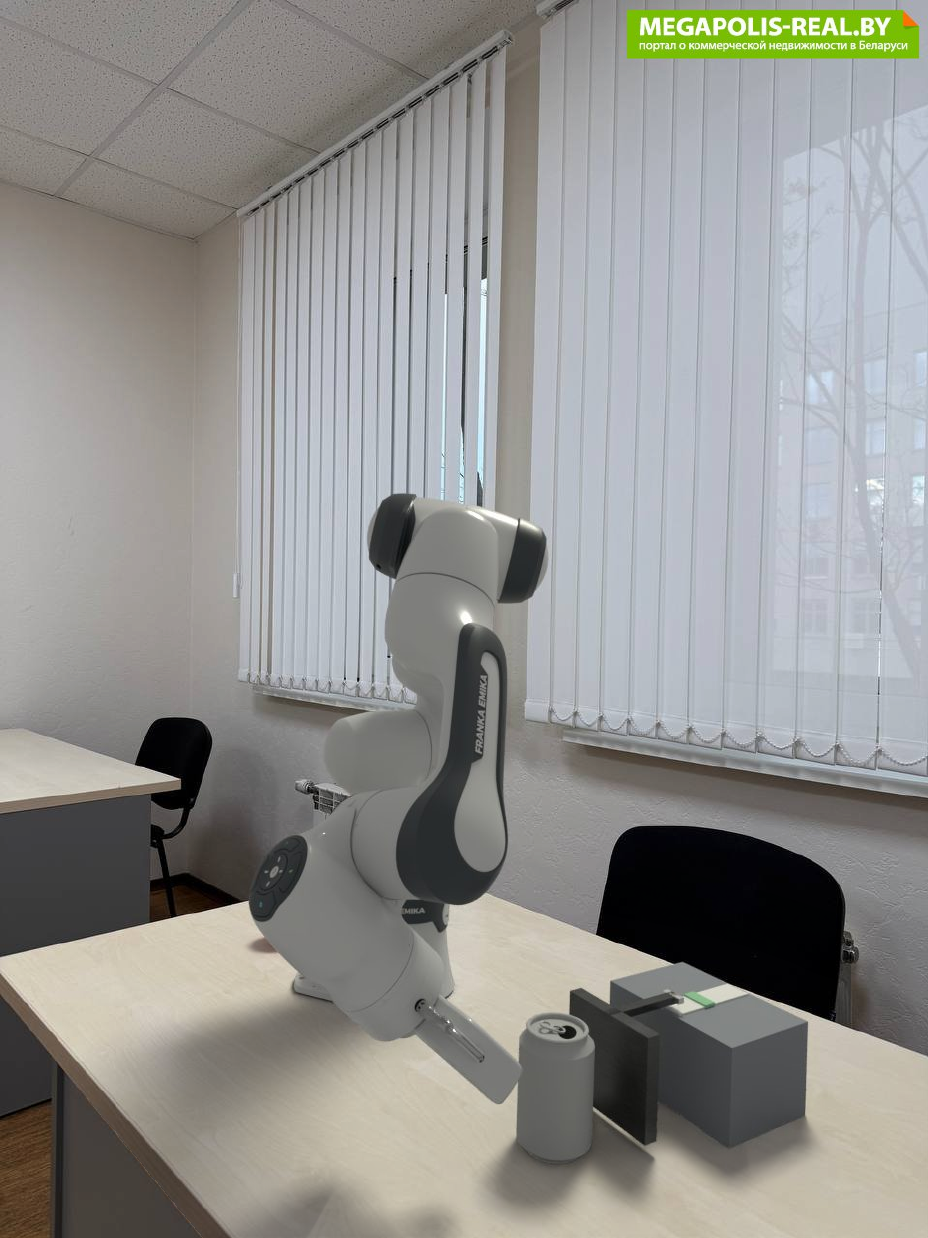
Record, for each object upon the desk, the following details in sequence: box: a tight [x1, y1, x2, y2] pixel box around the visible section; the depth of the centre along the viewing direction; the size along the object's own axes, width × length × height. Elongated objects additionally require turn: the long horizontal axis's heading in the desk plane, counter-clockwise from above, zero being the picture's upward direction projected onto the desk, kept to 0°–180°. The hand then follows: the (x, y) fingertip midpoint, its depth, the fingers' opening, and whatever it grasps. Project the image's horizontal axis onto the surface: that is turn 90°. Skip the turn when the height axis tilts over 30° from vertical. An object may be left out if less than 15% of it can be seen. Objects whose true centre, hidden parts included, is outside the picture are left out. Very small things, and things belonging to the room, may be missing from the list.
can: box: [515, 1011, 595, 1165], centre depth 84 cm, size 8×8×12 cm
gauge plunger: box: [568, 987, 684, 1147], centre depth 90 cm, size 10×12×10 cm
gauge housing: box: [609, 961, 809, 1149], centre depth 95 cm, size 12×18×10 cm, turn 32°
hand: (483, 1067), depth 79 cm, fingers closed
